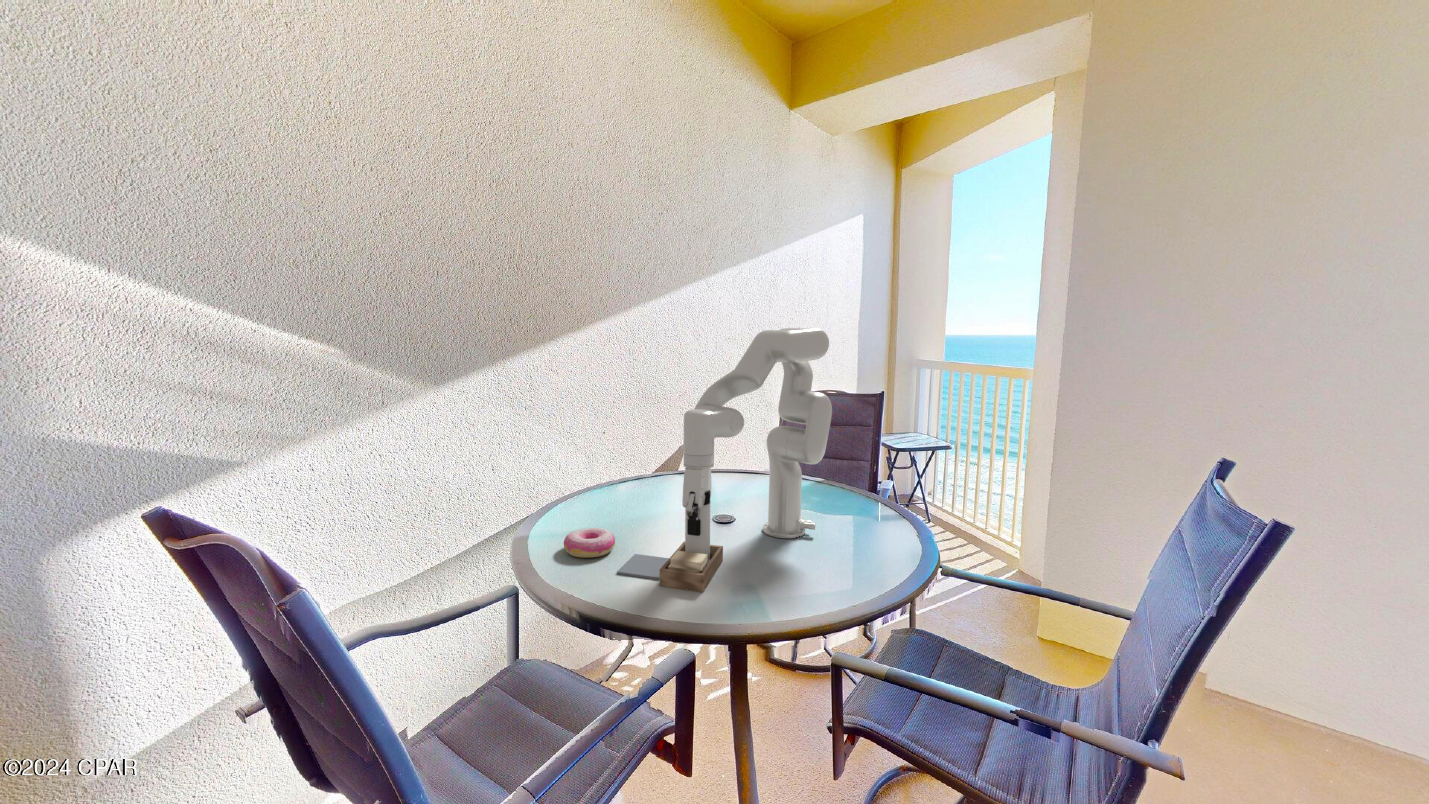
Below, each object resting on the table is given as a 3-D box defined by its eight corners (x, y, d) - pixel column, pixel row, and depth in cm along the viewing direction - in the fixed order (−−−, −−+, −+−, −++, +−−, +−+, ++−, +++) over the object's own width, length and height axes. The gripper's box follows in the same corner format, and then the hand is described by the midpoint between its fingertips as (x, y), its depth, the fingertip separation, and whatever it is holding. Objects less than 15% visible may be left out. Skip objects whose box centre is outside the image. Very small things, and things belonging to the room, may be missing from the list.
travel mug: (692, 573, 131) (692, 494, 128) (681, 563, 137) (681, 487, 134) (714, 568, 134) (715, 491, 131) (703, 558, 140) (703, 484, 137)
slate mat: (674, 561, 138) (674, 559, 138) (659, 579, 127) (659, 577, 127) (635, 556, 141) (635, 553, 141) (616, 573, 130) (616, 571, 130)
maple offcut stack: (707, 578, 129) (707, 554, 128) (701, 587, 124) (701, 562, 123) (675, 573, 131) (675, 550, 130) (668, 582, 126) (668, 558, 126)
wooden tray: (722, 560, 138) (723, 546, 138) (703, 592, 122) (703, 575, 121) (683, 555, 141) (683, 541, 141) (659, 585, 124) (659, 569, 124)
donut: (620, 557, 140) (620, 539, 140) (567, 565, 135) (567, 546, 135) (609, 539, 153) (609, 522, 152) (561, 545, 148) (561, 528, 147)
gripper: (694, 451, 141) (694, 517, 143) (672, 467, 125) (672, 541, 127) (722, 453, 139) (721, 520, 141) (703, 469, 123) (702, 544, 125)
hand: (698, 529), depth 134 cm, fingers closed on travel mug, 6 cm apart
